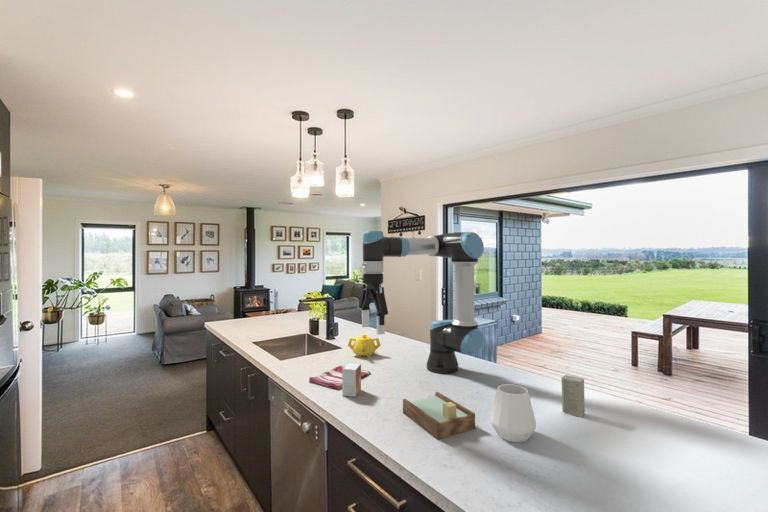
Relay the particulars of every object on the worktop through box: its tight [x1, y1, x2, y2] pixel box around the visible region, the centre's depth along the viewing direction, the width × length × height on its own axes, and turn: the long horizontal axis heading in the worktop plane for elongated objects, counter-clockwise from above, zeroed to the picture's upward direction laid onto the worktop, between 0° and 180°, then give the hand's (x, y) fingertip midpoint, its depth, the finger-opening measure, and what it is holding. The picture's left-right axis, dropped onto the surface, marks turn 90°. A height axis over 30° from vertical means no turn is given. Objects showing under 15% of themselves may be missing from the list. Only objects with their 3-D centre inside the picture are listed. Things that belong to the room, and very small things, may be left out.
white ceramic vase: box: [489, 383, 537, 443], centre depth 110 cm, size 13×13×14 cm
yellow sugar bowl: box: [347, 333, 381, 358], centre depth 196 cm, size 20×18×11 cm
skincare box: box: [561, 374, 586, 418], centre depth 125 cm, size 6×4×12 cm
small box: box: [341, 362, 362, 398], centre depth 143 cm, size 8×6×10 cm
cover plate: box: [410, 396, 467, 422], centre depth 119 cm, size 12×18×5 cm
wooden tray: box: [402, 391, 476, 440], centre depth 119 cm, size 15×20×5 cm
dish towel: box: [308, 365, 372, 391], centre depth 160 cm, size 17×23×3 cm
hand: (372, 330), depth 133 cm, fingers open, 13 cm apart
